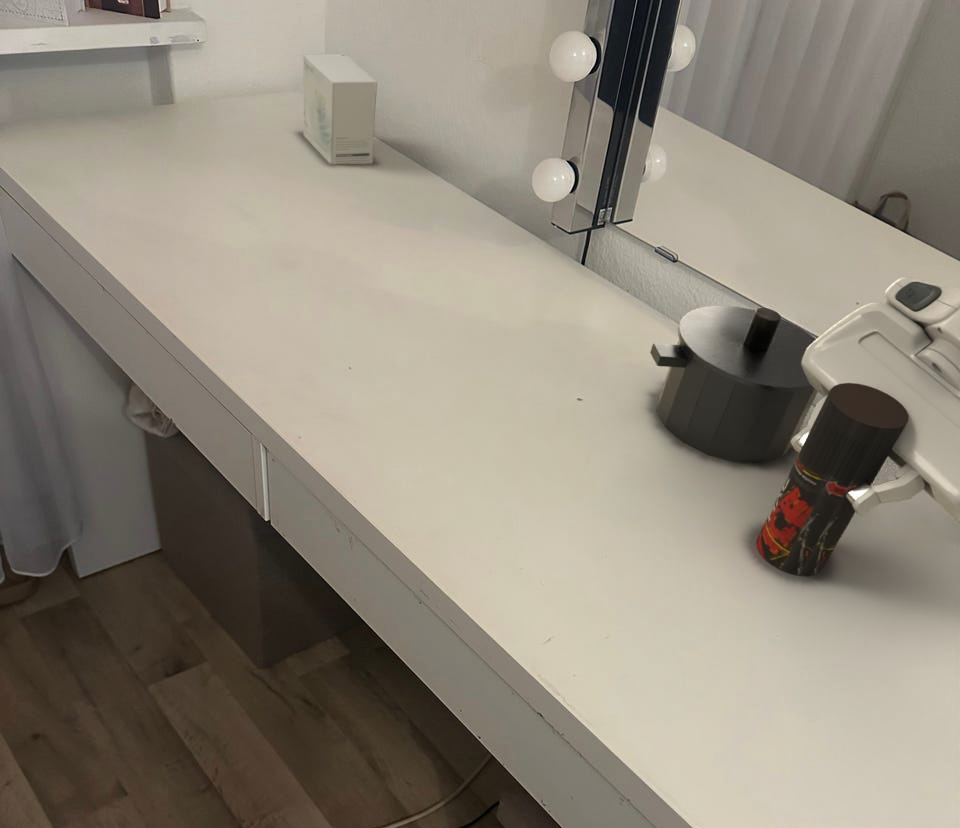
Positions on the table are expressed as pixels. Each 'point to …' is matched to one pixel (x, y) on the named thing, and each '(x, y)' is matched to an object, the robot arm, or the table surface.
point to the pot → (726, 410)
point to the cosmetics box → (339, 108)
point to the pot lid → (747, 346)
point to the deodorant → (830, 476)
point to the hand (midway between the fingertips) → (823, 477)
